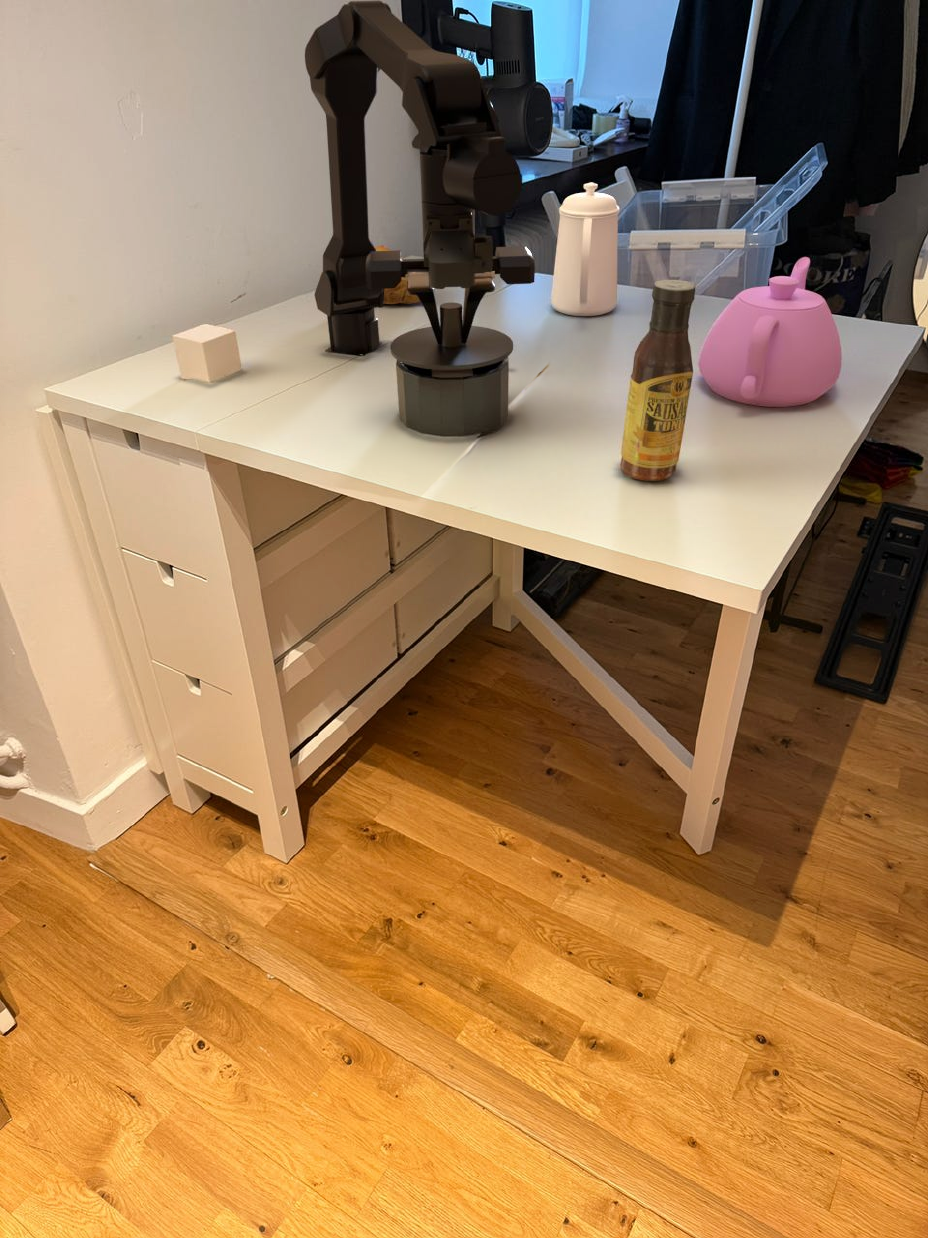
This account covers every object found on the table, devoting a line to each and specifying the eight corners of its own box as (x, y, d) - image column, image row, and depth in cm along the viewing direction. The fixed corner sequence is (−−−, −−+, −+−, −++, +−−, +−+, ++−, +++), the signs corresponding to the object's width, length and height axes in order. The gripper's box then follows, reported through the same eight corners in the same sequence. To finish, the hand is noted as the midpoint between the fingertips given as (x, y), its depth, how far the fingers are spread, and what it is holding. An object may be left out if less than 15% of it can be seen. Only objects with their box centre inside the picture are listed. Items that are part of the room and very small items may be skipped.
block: (434, 423, 106) (432, 383, 103) (433, 407, 110) (431, 368, 107) (475, 421, 106) (474, 381, 103) (472, 405, 110) (471, 367, 107)
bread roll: (439, 299, 150) (438, 250, 145) (403, 313, 144) (400, 263, 139) (383, 288, 156) (380, 241, 152) (346, 301, 150) (341, 252, 145)
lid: (369, 366, 101) (365, 317, 97) (422, 328, 111) (420, 283, 108) (486, 382, 96) (486, 331, 93) (529, 340, 107) (531, 294, 103)
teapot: (819, 429, 104) (846, 312, 96) (674, 405, 110) (688, 294, 102) (849, 362, 122) (874, 259, 114) (722, 345, 128) (738, 247, 120)
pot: (381, 431, 106) (377, 371, 101) (427, 392, 116) (425, 335, 111) (484, 447, 101) (483, 385, 97) (522, 405, 111) (523, 347, 107)
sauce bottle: (639, 489, 92) (660, 297, 81) (608, 465, 97) (624, 280, 85) (690, 476, 94) (718, 287, 83) (658, 454, 99) (680, 272, 87)
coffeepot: (616, 286, 154) (625, 169, 143) (616, 331, 134) (627, 198, 123) (554, 285, 156) (559, 169, 145) (546, 329, 136) (550, 198, 125)
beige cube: (210, 386, 119) (201, 342, 115) (181, 378, 122) (171, 335, 118) (242, 372, 123) (235, 330, 119) (213, 365, 126) (205, 323, 122)
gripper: (358, 218, 87) (370, 370, 96) (543, 212, 88) (538, 363, 97) (362, 196, 96) (373, 337, 105) (530, 191, 97) (526, 331, 106)
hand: (451, 342), depth 103 cm, fingers closed on lid, 3 cm apart
